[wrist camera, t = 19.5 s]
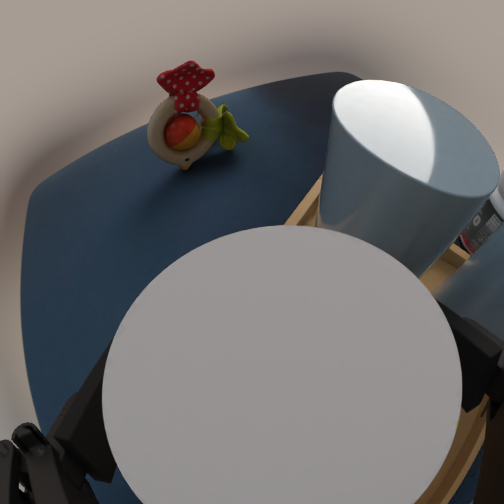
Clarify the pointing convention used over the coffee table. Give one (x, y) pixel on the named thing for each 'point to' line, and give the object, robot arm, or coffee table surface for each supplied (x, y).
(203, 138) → the bird rattle
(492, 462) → the robot arm
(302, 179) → the coffee table surface
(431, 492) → the tray
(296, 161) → the coffee table surface
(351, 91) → the slate blue cylinder
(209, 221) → the coffee table surface
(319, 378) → the light grey cylinder
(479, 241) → the pill bottle
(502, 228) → the grey-blue cylinder
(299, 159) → the coffee table surface
